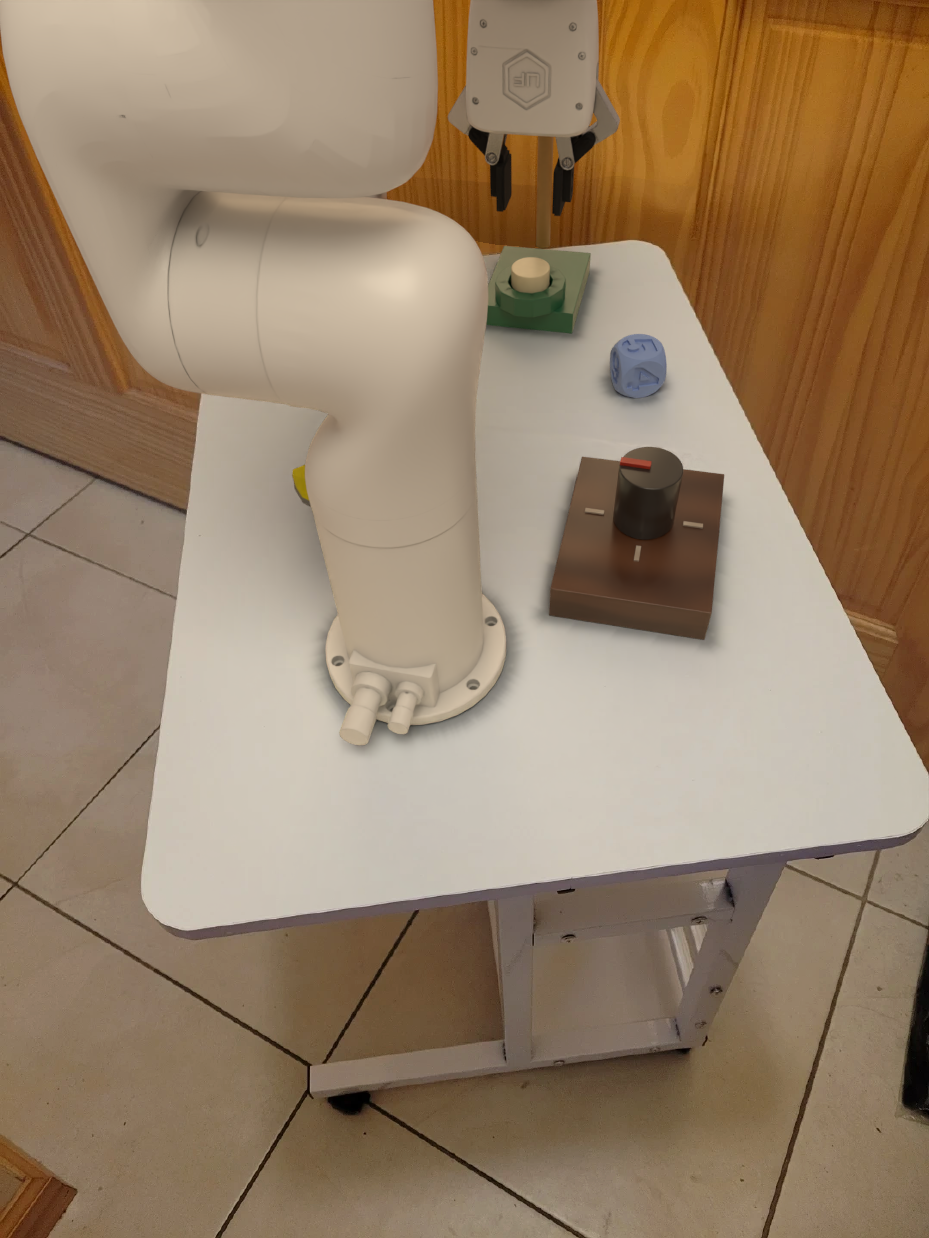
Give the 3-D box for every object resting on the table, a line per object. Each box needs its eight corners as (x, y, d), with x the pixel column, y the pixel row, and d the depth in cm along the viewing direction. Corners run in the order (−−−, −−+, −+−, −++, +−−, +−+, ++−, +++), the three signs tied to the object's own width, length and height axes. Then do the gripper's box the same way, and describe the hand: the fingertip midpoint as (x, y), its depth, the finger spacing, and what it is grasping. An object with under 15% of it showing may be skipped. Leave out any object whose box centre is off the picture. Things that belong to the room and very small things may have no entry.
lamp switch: (545, 296, 84) (546, 279, 82) (507, 293, 84) (507, 275, 83) (552, 275, 86) (553, 258, 84) (515, 272, 86) (515, 255, 85)
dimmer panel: (704, 640, 62) (712, 611, 60) (548, 615, 64) (550, 587, 62) (717, 502, 71) (725, 472, 68) (579, 484, 73) (581, 454, 70)
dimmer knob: (677, 502, 67) (688, 447, 63) (669, 544, 64) (680, 490, 60) (618, 493, 68) (625, 438, 63) (608, 534, 65) (614, 480, 61)
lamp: (567, 258, 87) (583, -62, 67) (511, 253, 88) (509, -63, 68) (576, 229, 90) (594, -84, 70) (522, 224, 91) (524, -85, 71)
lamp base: (569, 341, 85) (572, 304, 82) (477, 332, 87) (476, 295, 84) (589, 273, 92) (592, 235, 89) (504, 265, 94) (503, 228, 91)
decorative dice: (663, 395, 79) (669, 357, 76) (619, 401, 79) (623, 363, 76) (650, 368, 82) (656, 330, 79) (607, 374, 82) (611, 336, 79)
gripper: (409, -27, 64) (428, 220, 78) (646, -21, 61) (621, 236, 75) (436, -60, 69) (449, 180, 83) (657, -55, 66) (632, 193, 80)
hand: (531, 204), depth 79 cm, fingers open, 4 cm apart
